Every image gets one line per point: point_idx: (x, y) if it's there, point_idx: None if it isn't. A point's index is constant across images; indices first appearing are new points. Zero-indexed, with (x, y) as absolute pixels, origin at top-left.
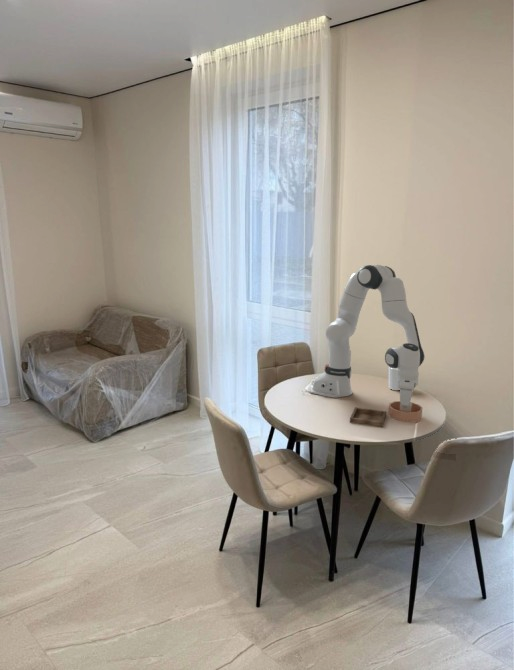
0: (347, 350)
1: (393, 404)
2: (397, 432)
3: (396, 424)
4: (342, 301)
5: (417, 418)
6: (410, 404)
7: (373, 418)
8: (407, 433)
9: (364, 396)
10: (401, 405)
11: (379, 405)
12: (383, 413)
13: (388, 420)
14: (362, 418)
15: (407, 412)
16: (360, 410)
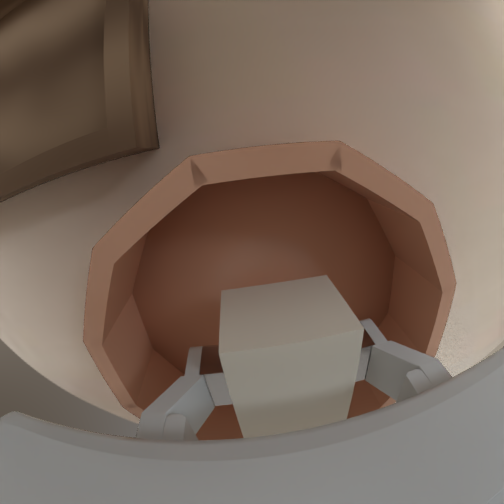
0: None
1: (373, 194)
2: (2, 299)
3: (78, 273)
4: None
5: None
6: (289, 429)
7: (41, 87)
8: (29, 344)
9: (485, 5)
10: (15, 415)
11: (431, 60)
12: (65, 145)
13: (110, 192)
14: (24, 34)
15: (125, 398)
16: None
